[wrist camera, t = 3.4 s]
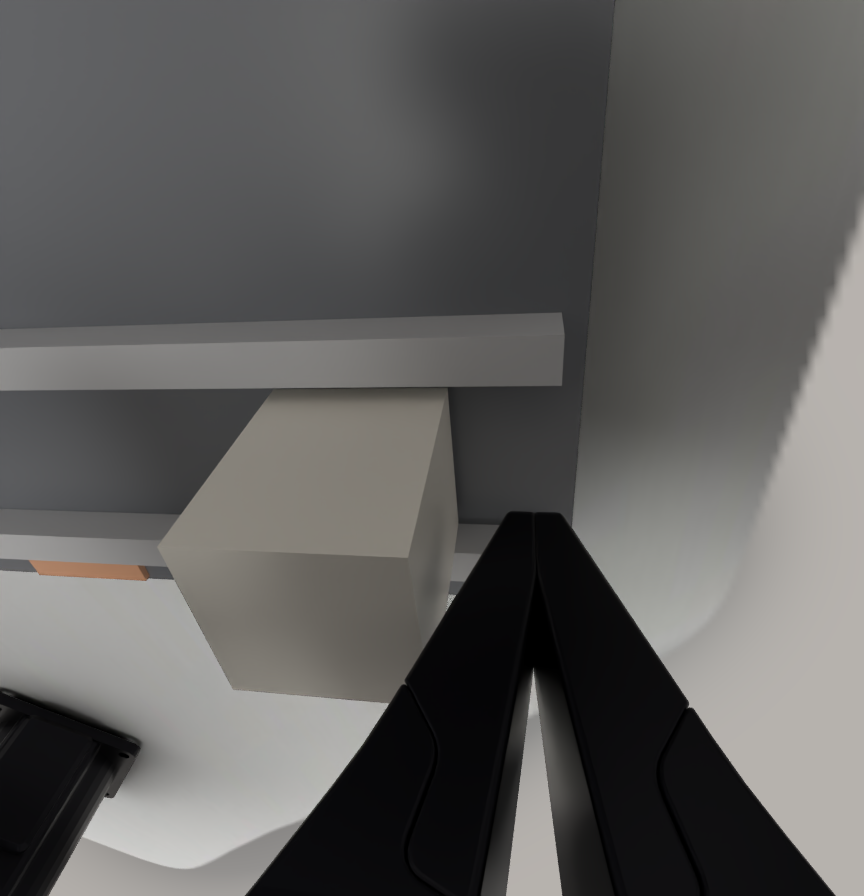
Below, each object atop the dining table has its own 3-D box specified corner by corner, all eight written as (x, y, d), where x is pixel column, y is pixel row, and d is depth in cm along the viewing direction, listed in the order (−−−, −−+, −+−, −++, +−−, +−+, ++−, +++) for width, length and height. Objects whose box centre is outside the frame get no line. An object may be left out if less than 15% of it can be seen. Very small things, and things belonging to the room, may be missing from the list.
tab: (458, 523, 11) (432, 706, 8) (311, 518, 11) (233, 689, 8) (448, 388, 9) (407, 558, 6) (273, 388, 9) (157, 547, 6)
